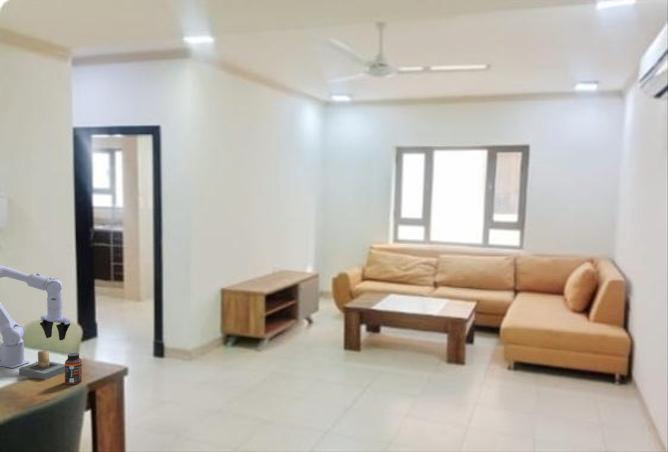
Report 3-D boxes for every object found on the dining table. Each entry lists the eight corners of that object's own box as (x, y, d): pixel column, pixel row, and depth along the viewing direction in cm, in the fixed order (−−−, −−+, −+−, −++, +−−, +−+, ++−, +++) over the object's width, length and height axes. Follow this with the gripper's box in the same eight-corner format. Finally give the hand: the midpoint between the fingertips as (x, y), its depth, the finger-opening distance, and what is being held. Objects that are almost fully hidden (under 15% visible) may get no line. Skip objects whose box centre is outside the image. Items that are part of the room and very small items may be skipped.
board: (19, 374, 213) (18, 367, 213) (42, 365, 224) (42, 359, 223) (45, 379, 208) (44, 372, 208) (68, 370, 219) (67, 364, 218)
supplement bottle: (75, 386, 203) (74, 357, 202) (61, 384, 204) (61, 355, 203) (85, 380, 209) (85, 352, 208) (72, 379, 210) (71, 351, 209)
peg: (35, 371, 215) (35, 352, 214) (44, 368, 218) (44, 349, 218) (43, 373, 213) (42, 353, 213) (51, 370, 217) (51, 351, 216)
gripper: (75, 307, 229) (75, 338, 230) (50, 303, 234) (50, 334, 235) (61, 310, 222) (62, 342, 223) (36, 307, 227) (36, 338, 228)
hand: (55, 338), depth 229 cm, fingers open, 7 cm apart
